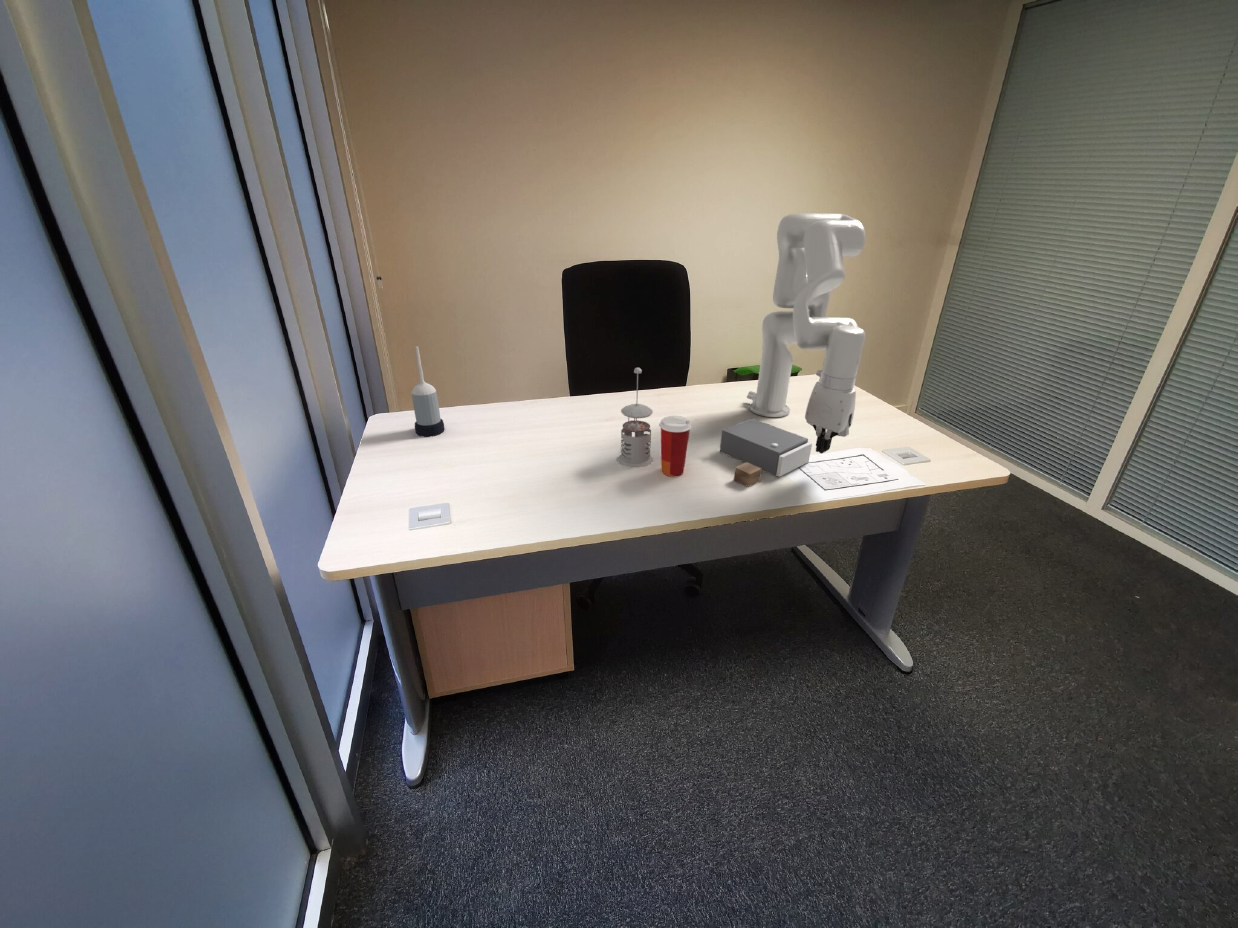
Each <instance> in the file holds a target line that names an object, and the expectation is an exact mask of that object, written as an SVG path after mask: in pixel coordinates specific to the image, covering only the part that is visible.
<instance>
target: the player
mask: <svg viewBox="0 0 1238 928" xmlns="http://www.w3.org/2000/svg"><path fill="white" fill-rule="evenodd" d="M808 442H809V438H807V437H804V436H801V435H799V434H797V433H793V432H790V431H789V430H788V431H787V430H785V429H783V428H780V427H778V426H774V425H771V424H768V423H766V422H764V421H763V422H762V421H760V420H757V419H755V418H750V419H747V420H744V421H741V422H739V423H736V424H734V425H731V426H729V427H726V428H724V429H722V430H721V437H720V446H719V452H720V453H722V454H725V455H726V456H729V457H731V458H734V459H736V460H738V461H739V462H742V463H743V464H744V463H746V462H748V463H750V464H752V465H755V466H757V467H759V468H761V469H762V470H761V471H763V472H765V473H768V474H770V475H773V476H774V477H776V476H777V475H776V473H777V467H778V461H779V456H780V455H781V454H783V453H785V452H787V451H789V450H793V449H795V448H797V447H799V446H801V445H804V444H806V443H808Z"/></svg>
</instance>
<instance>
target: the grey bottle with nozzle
mask: <svg viewBox="0 0 1238 928" xmlns="http://www.w3.org/2000/svg"><path fill="white" fill-rule="evenodd" d="M415 353H416V359H417V360H416V361H417V367H418V372H419V383H418V384H416V385H415V386H414V387H413V388H412V390H411V399H412V404H413V410H414V415H415V416H414V417H415V423H414V431H415V434H417V436H419V437H421V436H424V437H423V438H430V436H432V437H436V436H440V435H441V433H442V434H443V433H444V432H445V431H446V430H445V429H446V428H445V422H444V420H443V419H442V418H441V413H440V407H439V406H440V405H439V398H438V394H437V393H438V392H437V389H436V388H435V387H434V386H433V385H432V384H430V383H428V382H426V381H425V380H424V372H423V367H422V361H421V360H422V359H421V355H420V350H419V346H415ZM444 430H445V431H444Z"/></svg>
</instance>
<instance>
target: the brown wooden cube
mask: <svg viewBox="0 0 1238 928" xmlns="http://www.w3.org/2000/svg"><path fill="white" fill-rule="evenodd" d="M762 471H763V470H762V469H761V468H759V467H757V466H755V465H752V464H750V463H748V462H746V463H744V462H743V463H742V464H739V465H738V466H735V467H734V476H733V480H734V481H735V482H738V483H740V484H741V485H744V486H746V487H748V488H749V487H751V486H754V485H756V484H757V483H759V482H761V475H762Z"/></svg>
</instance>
